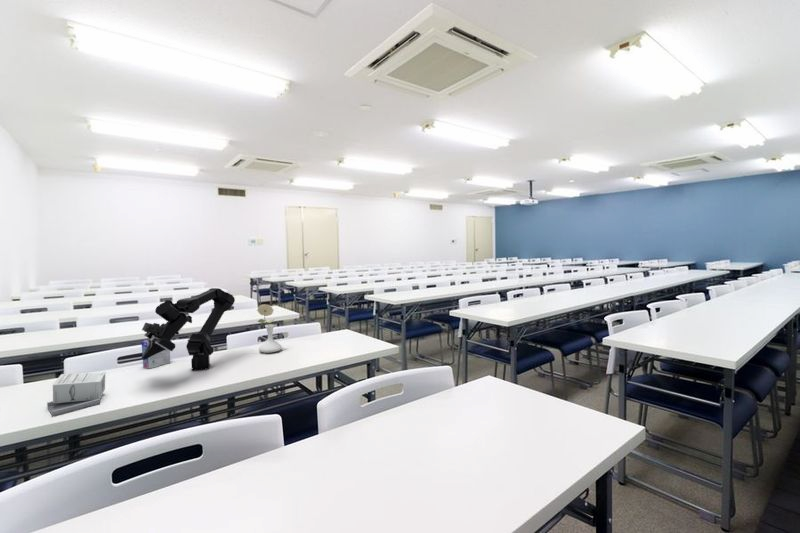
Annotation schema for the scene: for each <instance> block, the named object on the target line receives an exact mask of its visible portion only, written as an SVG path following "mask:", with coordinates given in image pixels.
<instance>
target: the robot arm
mask: <svg viewBox="0 0 800 533" xmlns="http://www.w3.org/2000/svg"><path fill="white" fill-rule="evenodd" d="M235 299H236V298H235V296H234V295H233V294H231V293H229V292H226V291H224V290H222V289H221V288H219V287H215V288H213V287H211V288H208V290H206V291H203V292H201V293H199V294H197V295H195V296H192V297H184V298H181V299H178V300H177V301H176V302H175V303H174V302H173V301H172V300H171V299H165V301H164V302H162V303H160V304H159V305H157V306H156V308H155V311H154V312H155V313H156V315H158V316H159V317H161V318H162V319H164V321H166V323H164V322H163V323H161V325H160V323H156V322H154V323H149V322H145V323H144V325H143V326H142V328H141V331H143V332H145V334H144V337H146V338H147V340H148V347H147V349H146V350H145V352H144V354H143V356H141V359H142V361H143V360H145V359H147V358H149V357H151V356H153V355H155V354H157V353H159V352H161V351H163V350H166V349H164V348H167V349H168V350H170V352H173V351H174V350H175V348H176V343H174V342H172V339H173V338H174V337H175V336H176V335H177V336H178V335H179V334H180V332H179V331H180V330H181V329H183V327H184V326H185V325H186V324H187V323H189V324H192V323H193V320H192V319H193V316H191V315H189V314H194V313H195V312H196V311H198V310H199V309H200V307H201V306H202V305H204V304H206V303H209V302H210V301H213V309H212V311H211V312H210V314H209V316H208V317H207V319H206V320H205V322H204V324H203V325H202V327H201V328H200V330H199V332H198V333H192V334H191V335H190V336H189V339H187V343H186V347H185V348H186V351H187V353H188V355H189V356H192V357H191V361H190V362H191V370H192V371H193V372H194V371H200V370H209V368H210V367H211V363H210V362H211V360H210V358H211V357H210V356H211V355H212V354H214V347H213V346H212V345H211V336H212V335H213V332H214V331H215V329H216V327H217V325H218V324H219V322H220V320H221V318H222V317H223V315H224V313H226V311H227V312H228V310H230V309H231V308H232V307H233V305H234V304H235V303H236V302H235V301H236V300H235Z"/></svg>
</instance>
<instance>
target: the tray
mask: <svg viewBox="0 0 800 533" xmlns="http://www.w3.org/2000/svg"><path fill="white" fill-rule="evenodd" d="M97 405H101V398H100V399H96V400H88V401H76V402H65V403H53V400H52V401H47V402H46V408H47V410H48V411H49V412H50V415H51V416H54V417H56V416H60V415H64V414H67V413H72V412H76V411H79V410H82V409H87V408H91V407H94V406H97Z"/></svg>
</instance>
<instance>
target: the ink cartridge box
mask: <svg viewBox="0 0 800 533" xmlns="http://www.w3.org/2000/svg"><path fill="white" fill-rule="evenodd" d="M147 347H148V339H146V340H143V341H141V351H142V352H141V354H142V356H143V354H144V352H145V350H146V349H147ZM164 349H166V350H163V351H161V352H159V353H157V354H155V355H153V356H151V357H149V358H147V359H145V360H143V359H142V367H143V368H145V369H148V370H149V369H152V368H156V367H159V366H163V365H167V364H170V363H171V351H170V350H168V349H167V348H164ZM142 356H141V357H142Z"/></svg>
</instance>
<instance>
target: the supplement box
mask: <svg viewBox="0 0 800 533" xmlns="http://www.w3.org/2000/svg"><path fill="white" fill-rule="evenodd" d="M105 390H106V372H105V371H101V372H100V371H99V372H98V371H97V372H95V371H94V372H83V373H82V372H78V373H64V374H63V373H61V374H60V375H58V377H57V379H56V380H55V381H54V383H53V384H52V401H53V403H65V402H76V401H88V400H96V399H100V400H101V399H102V396H103V395H104V392H105Z"/></svg>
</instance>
